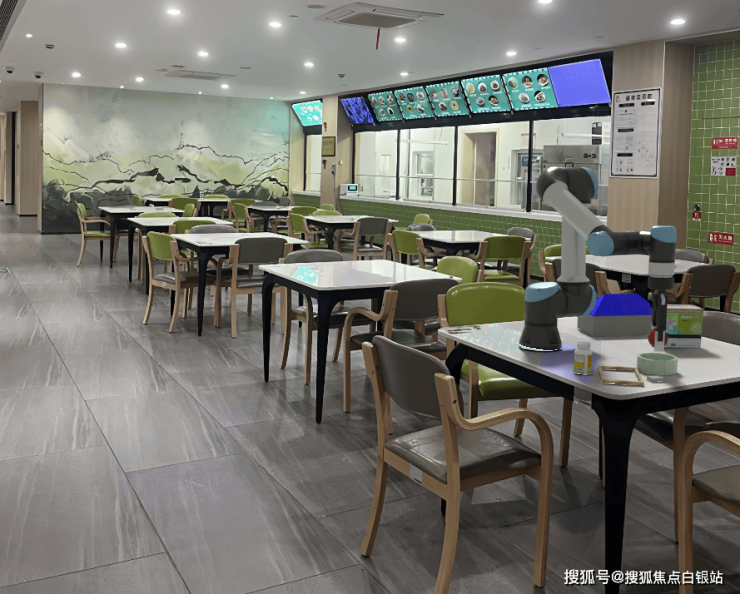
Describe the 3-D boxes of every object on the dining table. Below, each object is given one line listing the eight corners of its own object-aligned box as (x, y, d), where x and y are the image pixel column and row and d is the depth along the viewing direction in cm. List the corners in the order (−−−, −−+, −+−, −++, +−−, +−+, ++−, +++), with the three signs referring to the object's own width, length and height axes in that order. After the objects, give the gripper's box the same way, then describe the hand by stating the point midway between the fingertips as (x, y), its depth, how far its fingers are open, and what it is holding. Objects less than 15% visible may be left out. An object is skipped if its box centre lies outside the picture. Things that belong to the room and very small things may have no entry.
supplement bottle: (588, 371, 229) (589, 341, 227) (594, 375, 223) (595, 344, 222) (571, 371, 228) (572, 341, 227) (576, 375, 223) (577, 344, 222)
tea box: (659, 348, 261) (661, 308, 258) (649, 342, 270) (651, 303, 268) (701, 348, 260) (704, 307, 258) (690, 342, 270) (692, 303, 268)
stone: (651, 383, 215) (651, 378, 215) (646, 380, 218) (647, 376, 218) (664, 383, 215) (664, 378, 215) (659, 380, 218) (659, 375, 218)
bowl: (639, 374, 224) (639, 359, 224) (634, 365, 236) (635, 351, 235) (679, 376, 222) (680, 361, 221) (673, 367, 233) (673, 353, 232)
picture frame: (602, 384, 213) (602, 380, 213) (597, 369, 231) (597, 365, 231) (643, 386, 211) (643, 382, 210) (636, 370, 228) (636, 367, 228)
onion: (651, 347, 232) (652, 322, 231) (669, 349, 228) (671, 324, 227) (644, 350, 227) (646, 325, 226) (663, 352, 224) (665, 327, 223)
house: (634, 327, 301) (636, 290, 299) (653, 335, 285) (655, 295, 283) (576, 329, 299) (577, 291, 297) (591, 336, 283) (593, 297, 281)
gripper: (679, 279, 214) (675, 356, 218) (669, 272, 233) (665, 343, 236) (652, 279, 216) (648, 355, 220) (644, 272, 234) (641, 342, 238)
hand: (657, 348), depth 228 cm, fingers closed on onion, 6 cm apart
